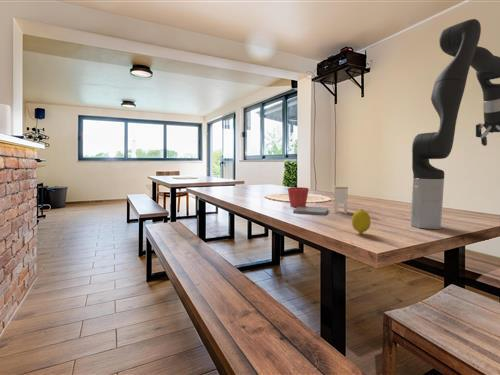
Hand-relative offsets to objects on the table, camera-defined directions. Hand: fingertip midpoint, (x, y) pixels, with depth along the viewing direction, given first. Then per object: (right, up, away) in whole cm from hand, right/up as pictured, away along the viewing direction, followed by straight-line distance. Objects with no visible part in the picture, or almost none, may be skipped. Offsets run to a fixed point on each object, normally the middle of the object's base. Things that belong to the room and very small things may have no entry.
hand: (496, 145), depth 125 cm
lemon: (-76, -34, -36) cm, 91 cm away
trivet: (-83, -31, +4) cm, 89 cm away
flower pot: (-87, -29, +21) cm, 94 cm away
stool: (-70, -31, +4) cm, 76 cm away
